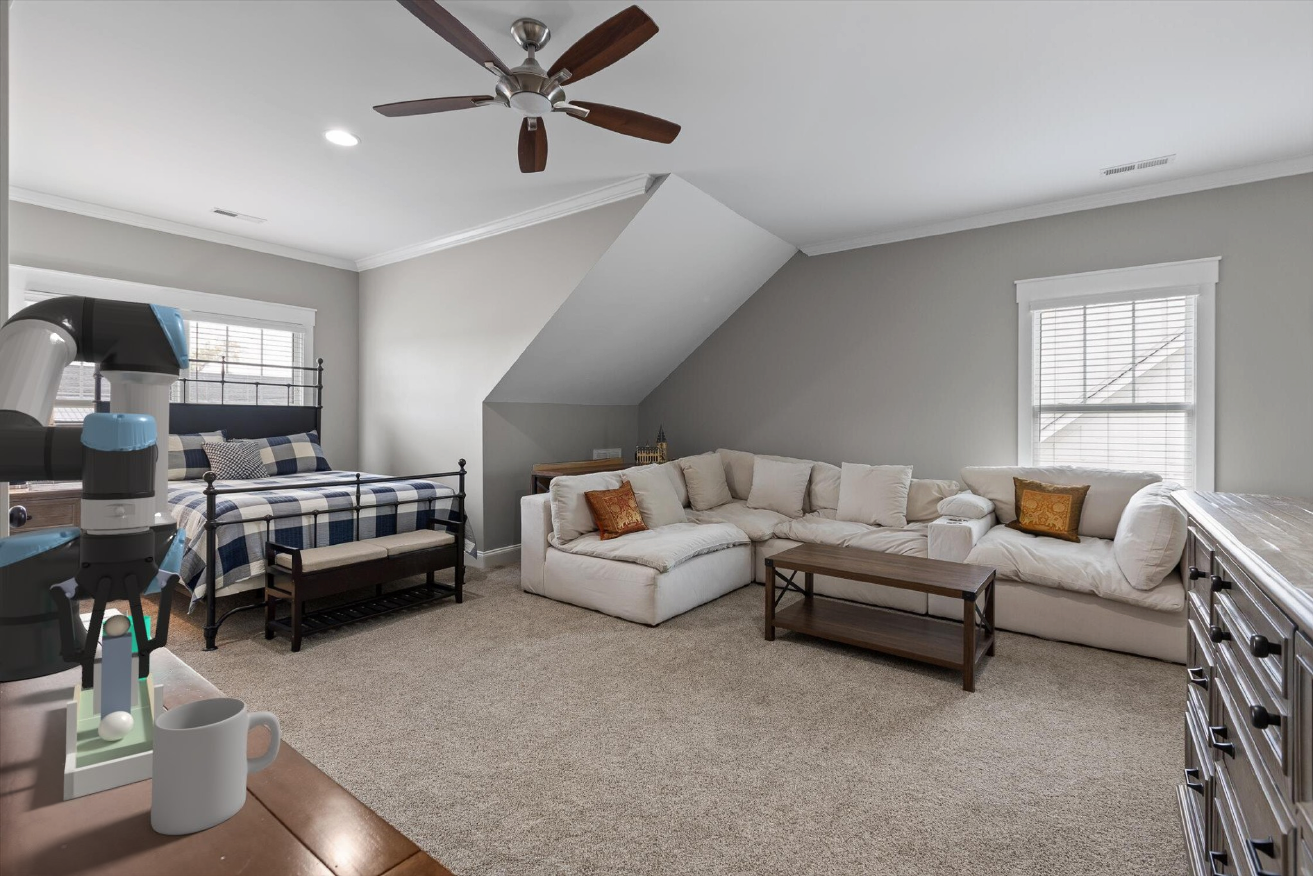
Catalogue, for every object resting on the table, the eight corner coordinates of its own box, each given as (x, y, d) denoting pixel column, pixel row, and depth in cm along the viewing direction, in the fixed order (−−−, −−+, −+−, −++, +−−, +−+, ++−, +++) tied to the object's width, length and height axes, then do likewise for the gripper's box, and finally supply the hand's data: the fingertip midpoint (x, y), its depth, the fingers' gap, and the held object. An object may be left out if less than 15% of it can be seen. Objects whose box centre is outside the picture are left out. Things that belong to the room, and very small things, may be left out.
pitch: (74, 705, 96) (75, 685, 96) (151, 690, 101) (151, 672, 101) (66, 776, 77) (66, 751, 77) (161, 753, 83) (161, 730, 82)
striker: (100, 725, 85) (102, 614, 85) (129, 719, 87) (131, 610, 87) (100, 733, 83) (102, 619, 82) (130, 727, 84) (132, 615, 84)
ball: (98, 717, 82) (98, 713, 80) (133, 710, 85) (134, 705, 82) (97, 746, 81) (97, 742, 79) (133, 738, 83) (134, 734, 81)
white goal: (66, 776, 77) (67, 701, 77) (161, 753, 83) (163, 683, 82) (63, 801, 72) (64, 721, 72) (165, 774, 78) (166, 700, 78)
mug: (156, 847, 64) (158, 738, 64) (145, 810, 70) (147, 711, 70) (289, 801, 73) (291, 705, 73) (269, 771, 79) (271, 683, 79)
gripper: (31, 539, 76) (27, 735, 76) (196, 528, 87) (193, 700, 87) (36, 531, 82) (33, 713, 82) (191, 521, 92) (188, 683, 93)
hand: (115, 706), depth 84 cm, fingers closed on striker, 3 cm apart
